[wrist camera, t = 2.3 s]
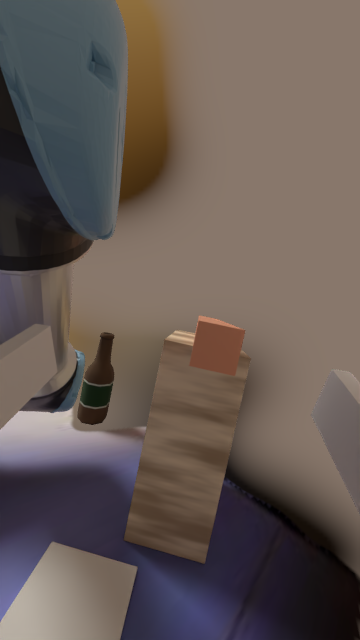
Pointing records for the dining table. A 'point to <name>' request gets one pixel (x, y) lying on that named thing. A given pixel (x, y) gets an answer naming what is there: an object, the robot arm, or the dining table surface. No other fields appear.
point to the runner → (71, 598)
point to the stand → (184, 452)
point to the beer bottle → (97, 384)
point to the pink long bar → (216, 346)
